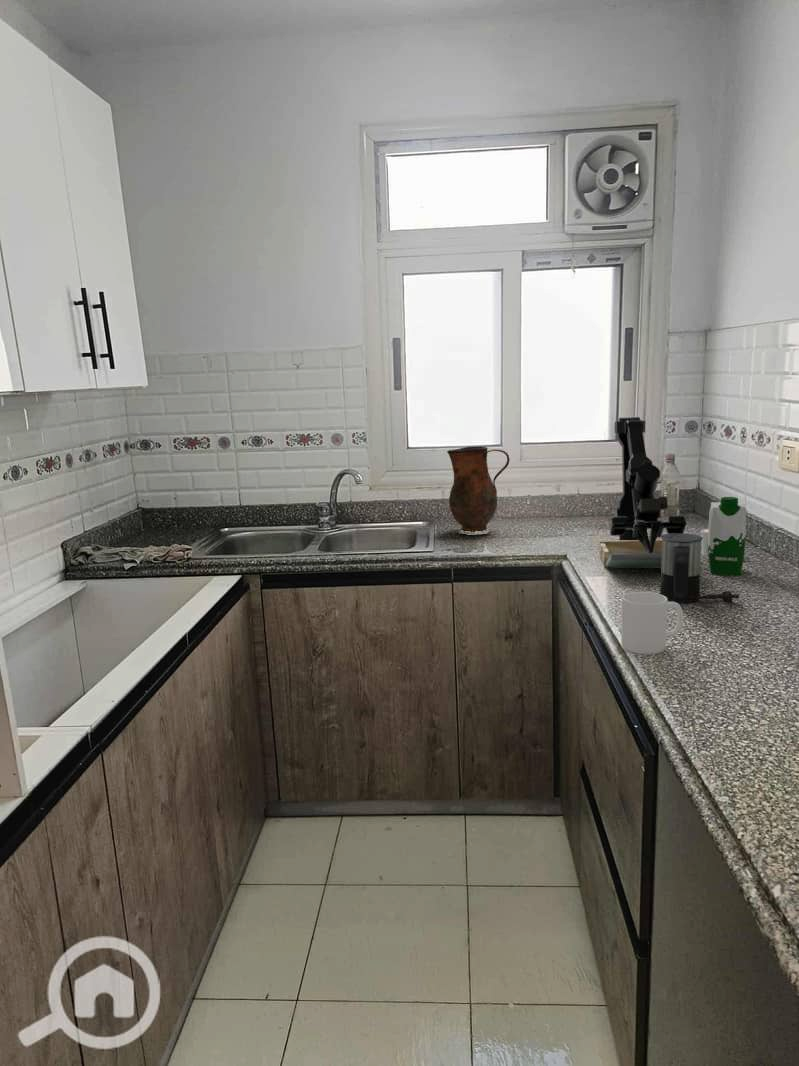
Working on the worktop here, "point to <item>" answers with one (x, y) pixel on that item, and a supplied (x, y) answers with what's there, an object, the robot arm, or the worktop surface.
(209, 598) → the worktop surface
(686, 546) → the milk frother
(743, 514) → the milk carton
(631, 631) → the cup
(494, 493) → the pitcher
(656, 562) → the sage green panel
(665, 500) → the robot arm
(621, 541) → the beige open tray
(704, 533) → the shot glass
